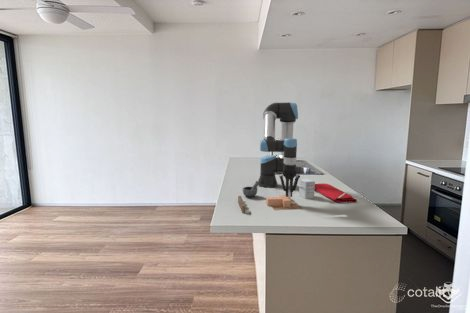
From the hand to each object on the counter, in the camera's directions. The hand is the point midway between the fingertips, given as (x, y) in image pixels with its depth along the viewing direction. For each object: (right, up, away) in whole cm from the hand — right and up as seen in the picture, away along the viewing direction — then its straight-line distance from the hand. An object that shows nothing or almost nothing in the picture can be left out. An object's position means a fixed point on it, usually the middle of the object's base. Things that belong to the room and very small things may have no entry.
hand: (288, 201), depth 179 cm
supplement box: (+15, 0, +16) cm, 22 cm away
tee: (-7, -2, -1) cm, 7 cm away
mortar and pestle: (-22, 0, +16) cm, 27 cm away
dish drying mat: (+35, +1, +28) cm, 45 cm away
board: (-11, -3, -1) cm, 12 cm away
